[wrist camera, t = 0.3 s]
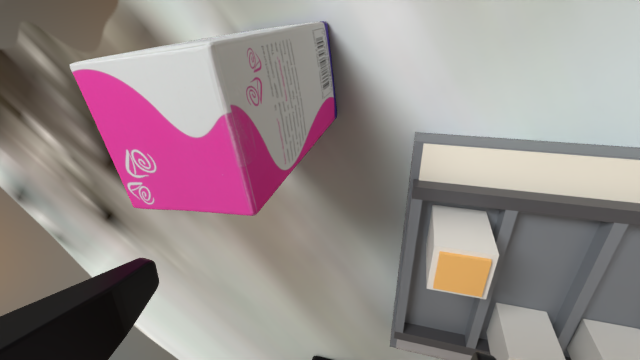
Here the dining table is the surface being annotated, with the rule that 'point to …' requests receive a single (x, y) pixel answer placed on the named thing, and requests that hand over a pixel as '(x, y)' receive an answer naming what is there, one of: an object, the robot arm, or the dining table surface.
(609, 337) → the switch tab
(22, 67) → the dining table surface
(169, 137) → the supplement box
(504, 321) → the switch tab
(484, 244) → the switch tab
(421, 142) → the switch bank
